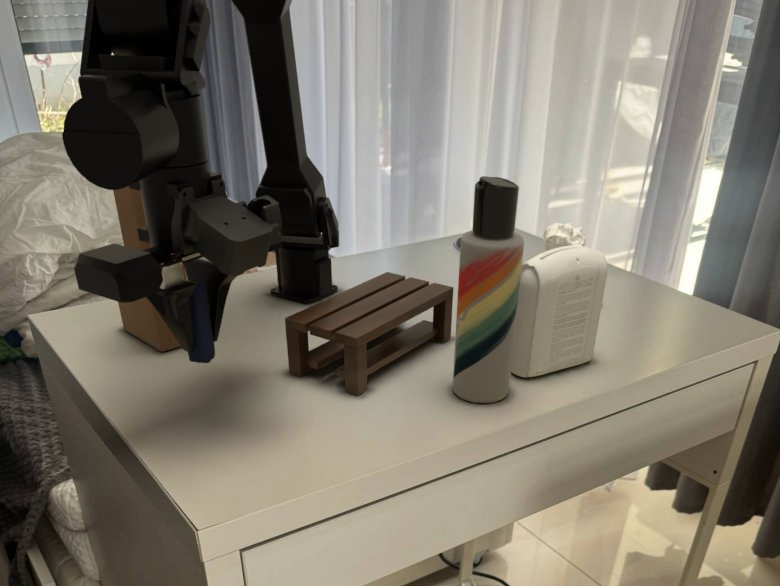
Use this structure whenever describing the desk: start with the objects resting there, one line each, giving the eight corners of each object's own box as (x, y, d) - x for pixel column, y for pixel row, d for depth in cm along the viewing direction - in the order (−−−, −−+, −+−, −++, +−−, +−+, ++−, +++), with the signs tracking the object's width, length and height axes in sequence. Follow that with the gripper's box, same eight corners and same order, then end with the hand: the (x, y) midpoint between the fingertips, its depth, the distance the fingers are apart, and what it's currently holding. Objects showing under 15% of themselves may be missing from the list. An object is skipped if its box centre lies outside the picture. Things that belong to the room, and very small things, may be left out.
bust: (586, 315, 101) (554, 234, 100) (632, 292, 95) (598, 205, 94) (527, 338, 95) (492, 251, 94) (572, 315, 89) (534, 222, 87)
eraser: (218, 354, 73) (207, 282, 68) (208, 364, 71) (197, 290, 67) (196, 352, 73) (184, 280, 69) (186, 362, 71) (173, 289, 67)
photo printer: (570, 348, 87) (588, 235, 80) (598, 362, 84) (618, 245, 77) (500, 368, 83) (511, 250, 75) (526, 383, 80) (540, 262, 72)
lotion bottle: (449, 379, 80) (459, 170, 68) (503, 378, 81) (523, 170, 69) (456, 405, 76) (469, 185, 64) (513, 403, 76) (537, 185, 64)
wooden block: (122, 329, 90) (86, 160, 79) (157, 320, 92) (127, 154, 81) (161, 353, 84) (128, 175, 74) (197, 343, 87) (171, 169, 76)
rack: (288, 373, 81) (284, 317, 77) (386, 321, 93) (387, 271, 89) (357, 396, 77) (356, 338, 73) (450, 338, 89) (453, 287, 85)
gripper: (151, 199, 52) (187, 408, 61) (324, 154, 64) (332, 334, 74) (47, 176, 57) (95, 373, 66) (226, 139, 69) (246, 309, 79)
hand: (200, 346), depth 71 cm, fingers closed on eraser, 2 cm apart
